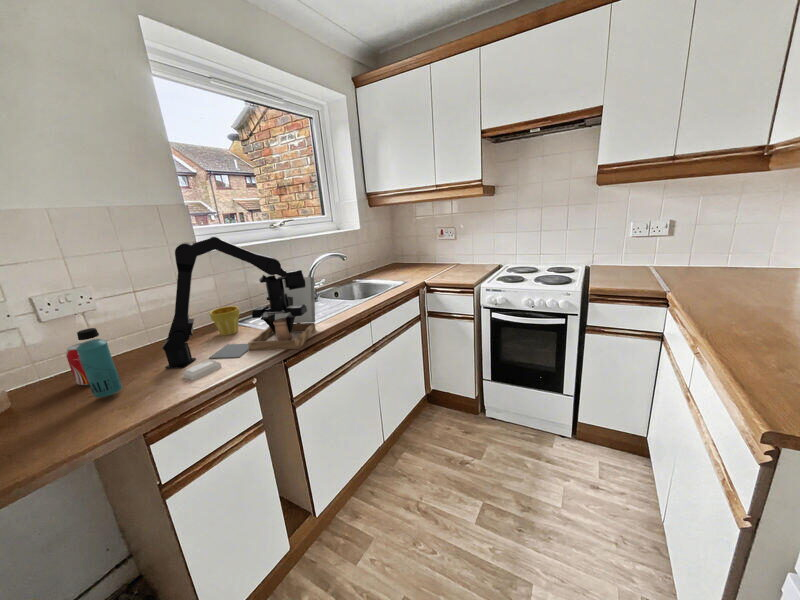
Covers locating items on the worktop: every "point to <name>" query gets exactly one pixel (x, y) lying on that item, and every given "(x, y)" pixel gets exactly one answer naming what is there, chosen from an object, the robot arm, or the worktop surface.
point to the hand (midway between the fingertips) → (283, 332)
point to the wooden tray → (260, 344)
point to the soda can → (76, 365)
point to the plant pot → (226, 319)
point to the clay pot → (281, 329)
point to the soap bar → (201, 369)
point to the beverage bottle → (98, 364)
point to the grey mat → (231, 351)
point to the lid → (302, 301)
